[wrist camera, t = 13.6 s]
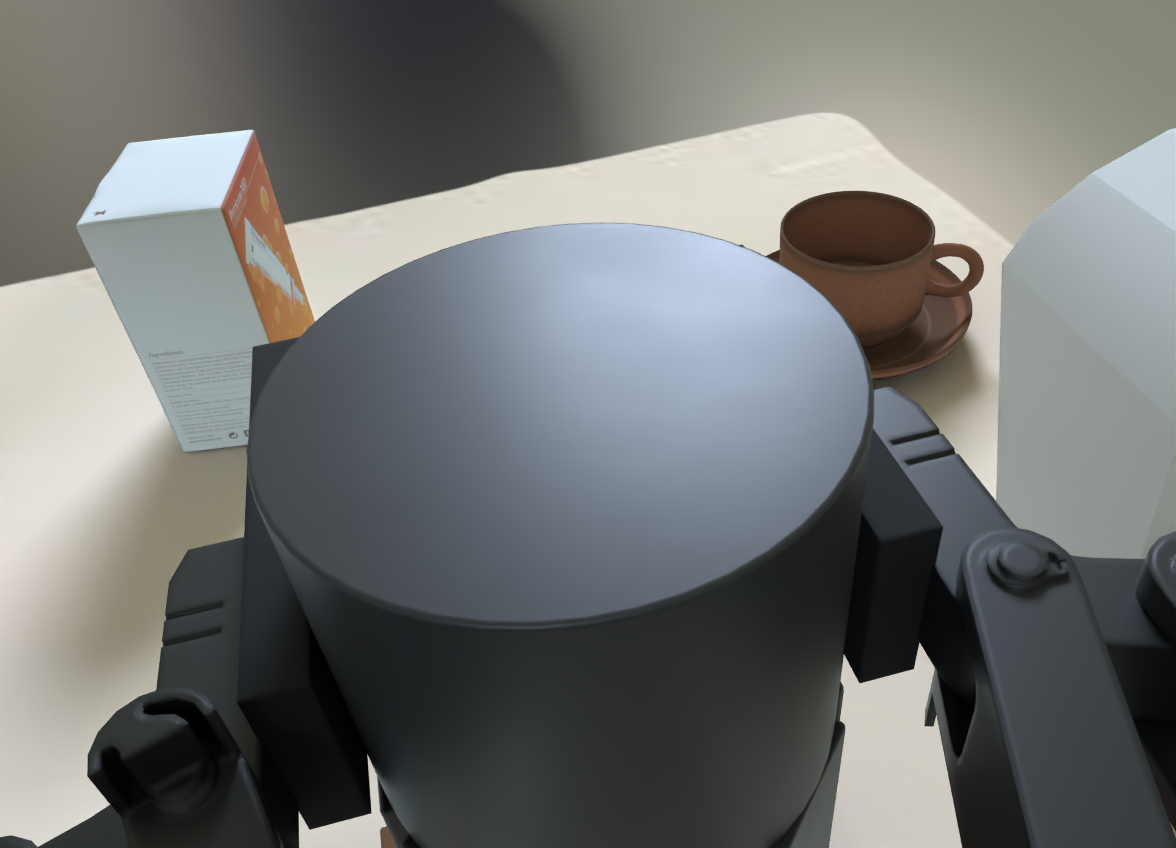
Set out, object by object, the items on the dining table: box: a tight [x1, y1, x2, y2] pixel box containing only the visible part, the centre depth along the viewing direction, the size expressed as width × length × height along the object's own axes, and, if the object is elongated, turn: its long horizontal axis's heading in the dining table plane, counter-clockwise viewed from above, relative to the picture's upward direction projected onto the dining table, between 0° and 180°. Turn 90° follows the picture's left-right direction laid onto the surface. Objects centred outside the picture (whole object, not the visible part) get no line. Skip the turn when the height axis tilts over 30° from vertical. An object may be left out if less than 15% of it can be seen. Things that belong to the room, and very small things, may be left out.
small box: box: [76, 130, 315, 452], centre depth 48 cm, size 8×6×13 cm
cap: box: [247, 223, 874, 848], centre depth 13 cm, size 6×6×9 cm
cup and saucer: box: [766, 191, 984, 379], centre depth 50 cm, size 12×12×6 cm
